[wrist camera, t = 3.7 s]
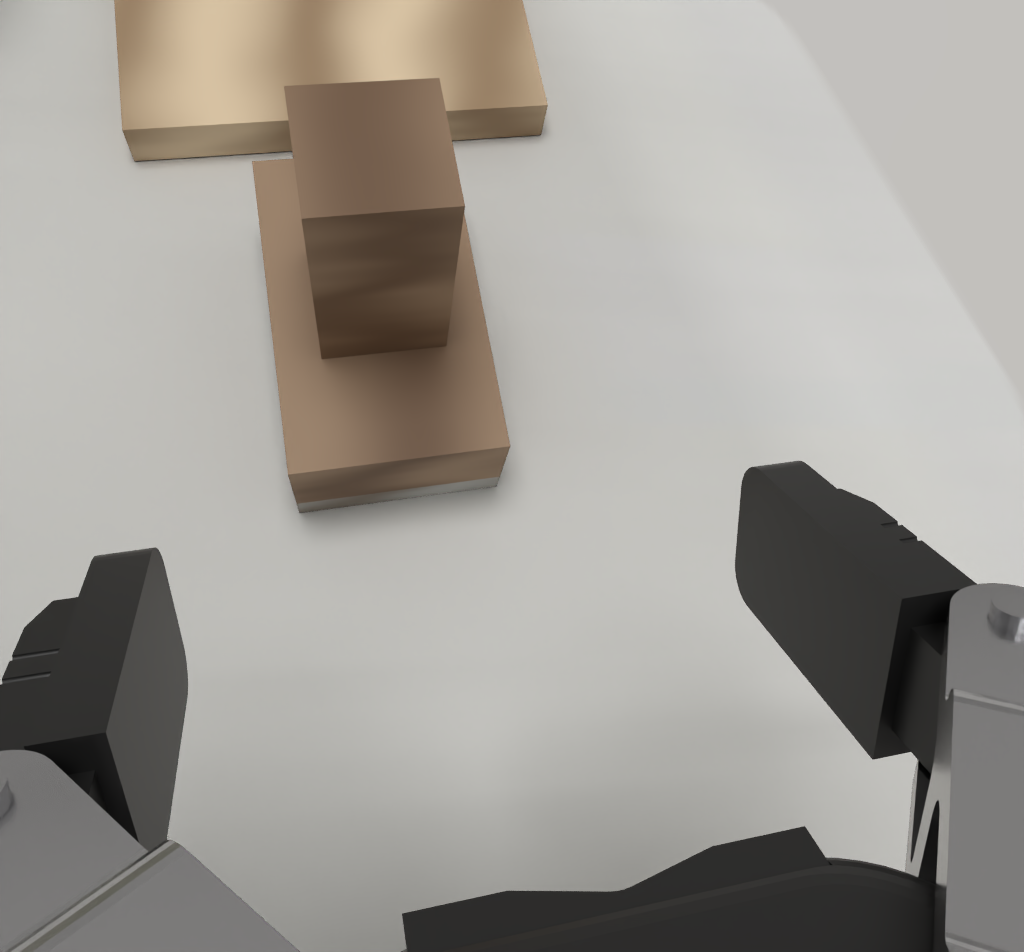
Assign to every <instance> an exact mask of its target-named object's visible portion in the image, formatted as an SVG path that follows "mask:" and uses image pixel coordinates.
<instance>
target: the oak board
mask: <svg viewBox="0 0 1024 952" xmlns="http://www.w3.org/2000/svg"><path fill="white" fill-rule="evenodd" d="M114 2H115V18H116V35H117V51H118V67H119V83H120V100H121V116H122V130H123V133H124V136H125V138H126V141H127V143H128V146H129V148H130V151H131V153H132V156H133V159H134V161H143V160H158V159H174V158H189V157H205V156H220V155H236V154H251V153H267V152H282V151H292V144H291V136H290V129H289V121H288V114H287V106H286V98H285V91H284V86H292V85H311V84H331V83H350V82H369V81H388V80H408V79H427V78H440V83H441V88H442V94H443V99H444V104H445V109H446V114H447V119H448V124H449V129H450V134H451V139H452V140H467V139H483V138H498V137H514V136H529V135H541V132H542V127H543V123H544V119H545V114H546V110H547V106H548V104H547V100H546V96H545V92H544V88H543V84H542V80H541V76H540V71H539V67H538V63H537V59H536V55H535V51H534V47H533V42H532V38H531V34H530V30H529V26H528V22H527V18H526V13H525V9H524V5H523V1H522V0H114Z"/></svg>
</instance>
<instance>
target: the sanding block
mask: <svg viewBox="0 0 1024 952" xmlns="http://www.w3.org/2000/svg"><path fill="white" fill-rule="evenodd" d="M284 91H285V98H286V106H287V114H288V121H289V129H290V136H291V144H292V152H293V159H282V160H267V161H252V164H253V172H254V181H255V190H256V198H257V207H258V216H259V225H260V233H261V242H262V251H263V260H264V268H265V277H266V286H267V294H268V303H269V312H270V321H271V329H272V338H273V347H274V356H275V364H276V373H277V382H278V391H279V399H280V408H281V417H282V425H283V434H284V443H285V452H286V460H287V469H288V476H289V479H290V483H291V486H292V489H293V493H294V496H295V500H296V503H297V506H298V510H299V513H304V512H311V511H318V510H326V509H333V508H340V507H348V506H355V505H363V504H370V503H377V502H385V501H392V500H399V499H407V498H414V497H421V496H429V495H436V494H444V493H451V492H458V491H466V490H473V489H480V488H488V487H495V486H497V483H498V480H499V477H500V474H501V471H502V468H503V466H504V463H505V460H506V457H507V454H508V451H509V448H510V443H509V438H508V433H507V428H506V423H505V418H504V412H503V407H502V402H501V397H500V392H499V387H498V382H497V377H496V372H495V367H494V362H493V357H492V352H491V347H490V342H489V337H488V332H487V327H486V322H485V316H484V311H483V306H482V301H481V296H480V291H479V286H478V281H477V276H476V271H475V266H474V261H473V256H472V251H471V246H470V241H469V236H468V231H467V225H466V220H465V215H464V209H465V204H464V199H463V194H462V189H461V184H460V179H459V174H458V169H457V164H456V159H455V154H454V149H453V144H452V139H451V134H450V129H449V124H448V119H447V114H446V109H445V104H444V99H443V94H442V88H441V83H440V78H427V79H408V80H388V81H369V82H350V83H331V84H311V85H292V86H284Z"/></svg>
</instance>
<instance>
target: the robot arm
mask: <svg viewBox="0 0 1024 952" xmlns="http://www.w3.org/2000/svg"><path fill="white" fill-rule="evenodd" d="M897 522H898V521H896V520H895V519H894V518H893V517H891V516H890V515H889V514H887V513H886V512H885V511H884V510H882V509H881V508H880V507H879V506H877V505H876V504H875V503H873V502H871V501H868V500H866V499H864V498H861V497H859V496H857V495H854V494H852V493H850V492H847V491H845V490H843V489H837V488H835V487H834V486H833V485H832V484H830V483H829V482H828V481H827V480H826V479H824V478H823V477H822V476H821V475H819V474H818V473H817V472H816V471H815V470H813V469H812V468H811V467H810V466H808V465H807V464H806V463H804V462H802V461H793V462H786V463H779V464H772V465H764V466H757V467H751V468H749V469H748V470H747V471H746V472H745V474H744V477H743V480H742V486H741V498H740V510H739V522H738V534H737V546H736V558H735V572H736V579H737V583H738V587H739V590H740V593H741V595H742V598H743V600H744V602H745V603H746V605H747V606H748V607H749V609H750V610H751V611H752V612H753V613H754V615H755V616H756V617H757V618H758V620H759V621H760V622H761V623H762V625H763V626H764V627H765V628H766V629H767V631H768V632H769V633H770V634H771V636H772V637H773V638H774V639H775V640H776V642H777V643H778V644H779V645H780V647H781V648H782V649H783V650H784V651H785V653H786V654H787V655H788V656H789V658H790V659H791V660H792V661H793V663H794V664H795V665H796V666H797V667H798V669H799V670H800V671H801V672H802V674H803V675H804V676H805V677H806V678H807V680H808V681H809V682H810V683H811V685H812V686H813V687H814V688H815V690H816V691H817V692H818V693H819V694H820V696H821V697H822V698H823V699H824V701H825V702H826V703H827V704H828V705H829V707H830V708H831V709H832V710H833V712H834V713H835V714H836V715H837V716H838V718H839V719H840V720H841V721H842V723H843V724H844V725H845V726H846V728H847V729H848V730H849V731H850V732H851V734H852V735H853V736H854V737H855V739H856V740H857V741H858V742H859V743H860V745H861V746H862V747H863V748H864V750H865V751H866V752H867V753H868V755H869V756H870V757H871V758H872V759H878V758H883V757H888V756H892V755H897V754H902V753H907V752H912V753H913V754H914V755H915V757H916V758H917V764H916V769H915V773H914V778H913V784H912V796H911V807H910V819H909V830H908V842H907V853H906V865H905V872H902V871H899V870H896V869H893V868H889V867H886V866H882V865H877V864H873V863H868V862H863V861H857V860H849V859H841V858H825V856H824V855H823V853H822V852H821V850H820V849H819V847H818V845H817V844H816V842H815V841H814V839H813V838H812V836H811V835H810V833H809V832H808V830H807V829H806V827H805V826H804V827H800V828H795V829H790V830H786V831H781V832H777V833H772V834H767V835H763V836H758V837H754V838H749V839H744V840H740V841H735V842H730V843H726V844H721V845H717V846H712V847H710V848H708V849H706V850H704V851H702V852H700V853H698V854H696V855H694V856H692V857H690V858H688V859H686V860H684V861H682V862H680V863H678V864H676V865H674V866H672V867H670V868H668V869H666V870H664V871H662V872H660V873H658V874H656V875H654V876H652V877H650V878H648V879H646V880H644V881H642V882H640V883H638V884H636V885H634V886H632V887H630V888H627V889H625V890H620V891H613V892H583V891H505V892H500V893H495V894H491V895H486V896H482V897H477V898H472V899H468V900H463V901H458V902H454V903H449V904H445V905H440V906H435V907H431V908H426V909H422V910H417V911H412V912H408V913H403V914H402V916H403V924H404V932H405V939H406V947H407V949H405V950H403V951H401V952H1024V587H1020V586H1015V585H1008V584H997V583H987V584H976V583H975V582H974V581H972V580H971V579H970V578H969V577H967V576H966V575H965V574H964V573H962V572H961V571H960V570H958V569H957V568H956V567H955V566H953V565H952V564H951V563H950V562H948V561H947V560H946V559H945V558H943V557H942V556H941V555H939V554H938V553H937V552H936V551H934V550H933V549H932V548H931V547H929V546H928V545H927V544H926V543H924V542H923V541H917V536H915V535H914V534H913V533H912V532H910V531H909V530H908V529H906V528H905V527H904V526H903V525H900V526H898V523H897ZM12 657H13V661H10V662H9V664H8V666H7V668H6V671H5V673H4V675H3V678H2V685H0V952H300V951H299V950H297V949H296V948H295V947H294V946H293V945H292V944H291V943H290V942H289V941H287V940H286V939H285V938H284V937H283V936H282V935H281V934H280V933H279V932H277V931H276V930H275V929H274V928H273V927H272V926H271V925H270V924H269V923H267V922H266V921H265V920H264V919H263V918H262V917H261V916H260V915H259V914H257V913H256V912H255V911H254V910H253V909H252V908H251V907H250V906H249V905H247V904H246V903H245V902H244V901H243V900H242V899H241V898H240V897H239V896H237V895H236V894H235V893H234V892H233V891H232V890H231V889H230V888H229V887H227V886H226V885H225V884H224V883H223V882H222V881H221V880H220V879H219V878H217V877H216V876H215V875H214V874H213V873H212V872H211V871H210V870H209V869H207V868H206V867H205V866H204V865H203V864H202V863H201V862H200V861H199V860H197V859H196V858H195V857H194V856H193V855H192V854H191V853H190V852H189V851H187V850H186V849H185V848H184V847H183V846H181V845H180V844H178V843H176V842H174V841H172V840H167V833H168V826H169V820H170V813H171V806H172V799H173V792H174V785H175V778H176V771H177V765H178V758H179V751H180V744H181V737H182V730H183V723H184V716H185V710H186V703H187V695H188V674H187V663H186V656H185V650H184V645H183V641H182V637H181V633H180V629H179V624H178V620H177V616H176V612H175V608H174V603H173V599H172V595H171V591H170V587H169V583H168V578H167V574H166V570H165V566H164V562H163V559H162V556H161V554H160V552H159V550H158V549H157V548H149V549H142V550H135V551H127V552H120V553H113V554H105V555H98V556H94V558H93V559H92V561H91V564H90V567H89V569H88V572H87V575H86V577H85V580H84V583H83V586H82V588H81V591H80V594H79V597H76V598H69V599H62V600H55V601H52V602H51V603H50V604H49V605H48V606H47V607H46V608H45V609H44V610H43V611H42V612H41V613H40V614H38V615H37V616H36V617H35V618H34V619H33V620H32V621H31V622H30V623H29V624H28V625H27V626H26V627H25V628H24V630H23V632H22V634H21V637H20V639H19V641H18V643H17V646H16V648H15V650H14V652H13V655H12Z"/></svg>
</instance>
